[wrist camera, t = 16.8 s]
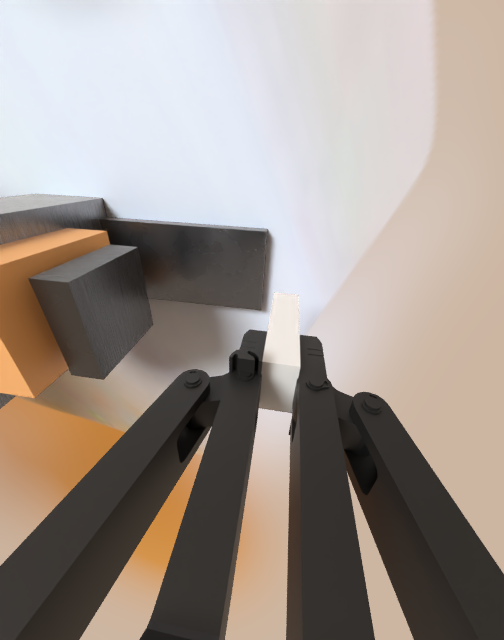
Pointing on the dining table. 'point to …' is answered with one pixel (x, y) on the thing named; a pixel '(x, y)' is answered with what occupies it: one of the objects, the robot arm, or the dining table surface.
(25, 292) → the block
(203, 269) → the block
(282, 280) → the dining table surface
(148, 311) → the shaft
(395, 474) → the robot arm
